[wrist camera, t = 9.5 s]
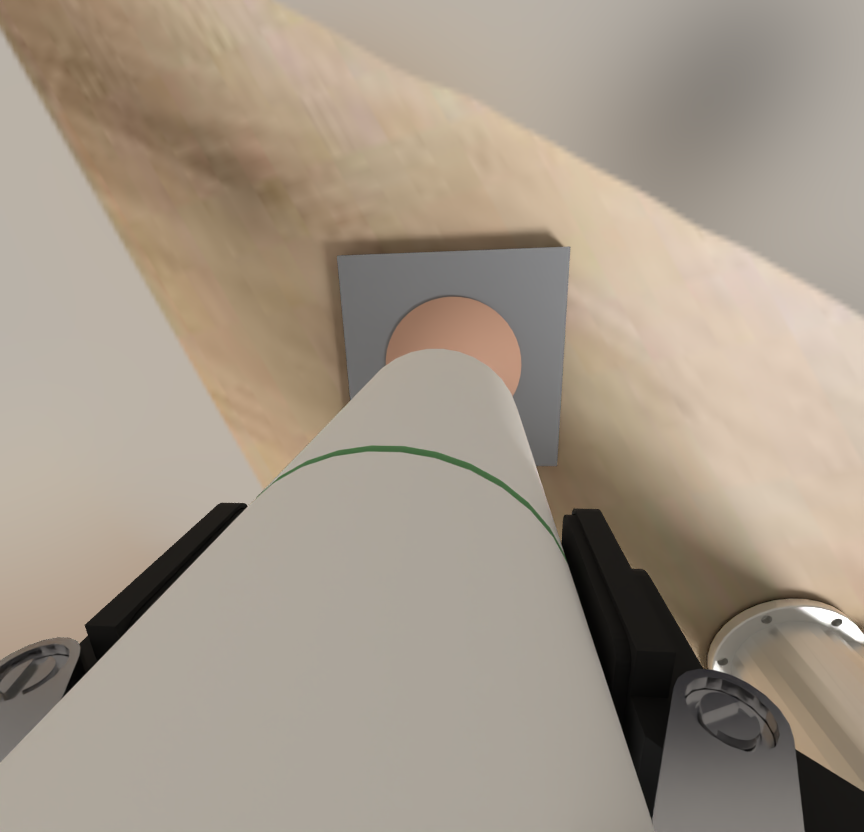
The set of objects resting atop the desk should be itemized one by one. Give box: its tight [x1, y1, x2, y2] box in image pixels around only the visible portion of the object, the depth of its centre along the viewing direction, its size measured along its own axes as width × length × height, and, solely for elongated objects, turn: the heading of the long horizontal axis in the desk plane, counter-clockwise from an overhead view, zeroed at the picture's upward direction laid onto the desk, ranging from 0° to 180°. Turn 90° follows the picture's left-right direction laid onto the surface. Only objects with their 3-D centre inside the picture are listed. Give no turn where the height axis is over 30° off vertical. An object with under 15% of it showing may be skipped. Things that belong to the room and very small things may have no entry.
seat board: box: [337, 247, 570, 466], centre depth 33 cm, size 16×16×2 cm
